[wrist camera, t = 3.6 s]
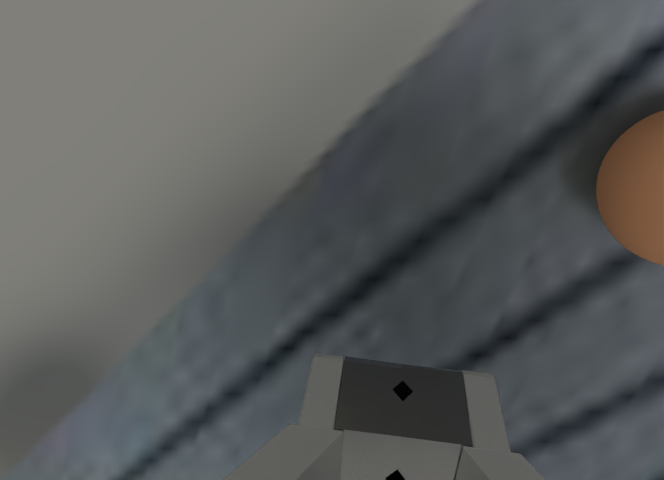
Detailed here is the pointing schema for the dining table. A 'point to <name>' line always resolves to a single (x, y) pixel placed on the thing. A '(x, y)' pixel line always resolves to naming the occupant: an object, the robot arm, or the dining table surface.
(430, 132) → the dining table surface
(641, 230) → the ball
